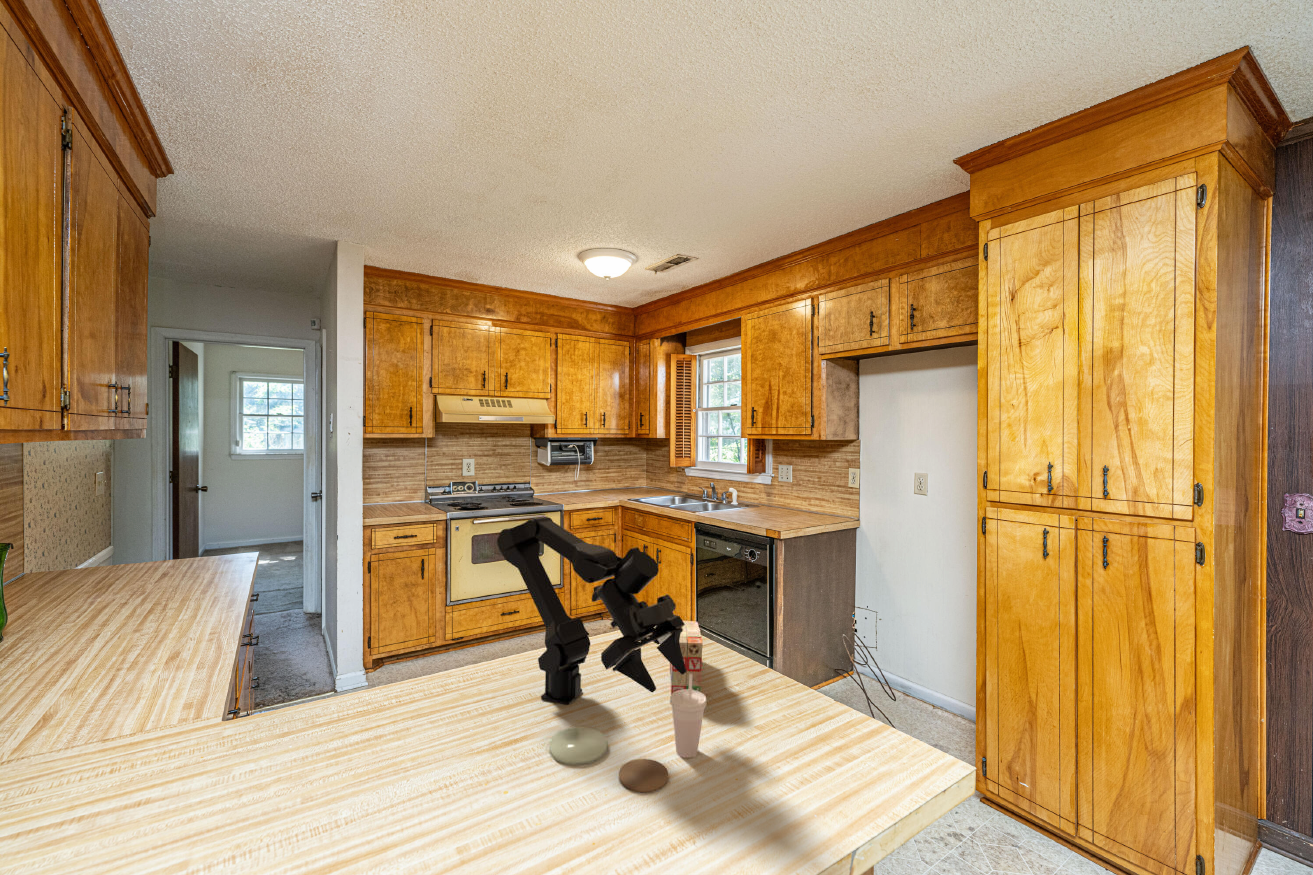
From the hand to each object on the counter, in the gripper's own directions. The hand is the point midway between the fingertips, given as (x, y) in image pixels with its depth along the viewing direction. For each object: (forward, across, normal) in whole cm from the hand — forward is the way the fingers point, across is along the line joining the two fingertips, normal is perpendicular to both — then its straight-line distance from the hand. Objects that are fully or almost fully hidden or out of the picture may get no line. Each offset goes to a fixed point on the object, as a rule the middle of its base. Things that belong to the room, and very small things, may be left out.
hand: (670, 681), depth 103 cm
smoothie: (+11, 0, +5) cm, 12 cm away
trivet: (+10, -10, +6) cm, 15 cm away
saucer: (0, -11, +16) cm, 19 cm away
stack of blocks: (-1, +24, +18) cm, 30 cm away
